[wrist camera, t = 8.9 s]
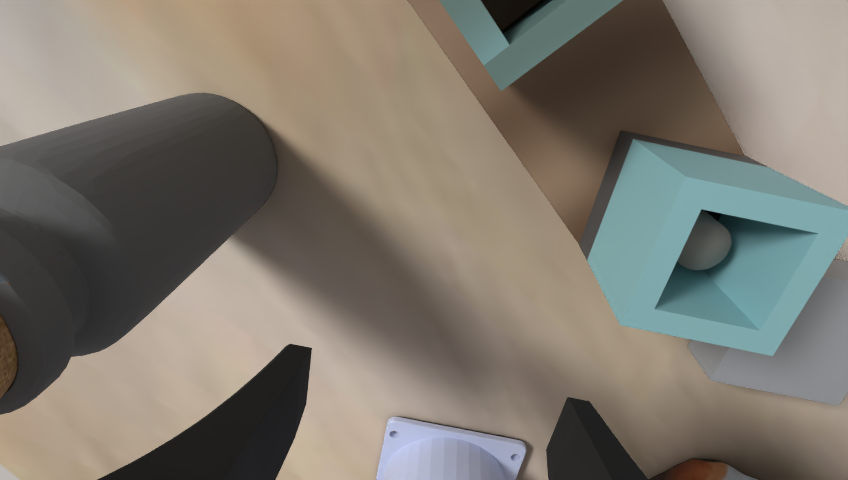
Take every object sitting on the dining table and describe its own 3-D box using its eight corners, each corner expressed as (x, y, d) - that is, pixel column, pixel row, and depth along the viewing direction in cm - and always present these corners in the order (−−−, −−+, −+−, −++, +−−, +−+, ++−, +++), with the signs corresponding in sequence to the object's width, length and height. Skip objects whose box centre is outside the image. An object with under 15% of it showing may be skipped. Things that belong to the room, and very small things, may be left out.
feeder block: (803, 369, 24) (838, 405, 22) (687, 346, 24) (710, 380, 22) (871, 266, 22) (918, 295, 20) (741, 240, 22) (774, 266, 20)
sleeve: (691, 267, 21) (772, 356, 15) (578, 244, 21) (620, 325, 15) (746, 156, 19) (862, 213, 13) (620, 130, 19) (685, 176, 13)
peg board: (759, 208, 21) (899, 299, 14) (612, 288, 23) (675, 401, 16) (534, -207, 16) (589, -374, 9) (372, -54, 18) (319, -96, 11)
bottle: (231, 241, 24) (-78, 542, 10) (128, 157, 22) (-395, 378, 9) (305, 159, 22) (41, 399, 8) (196, 61, 20) (-345, 153, 7)
